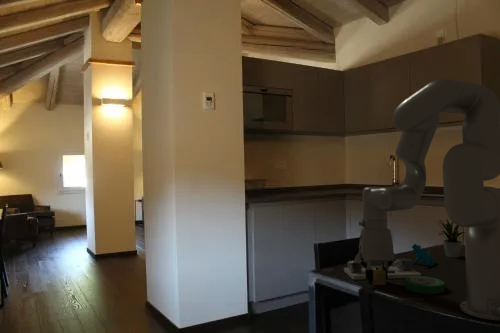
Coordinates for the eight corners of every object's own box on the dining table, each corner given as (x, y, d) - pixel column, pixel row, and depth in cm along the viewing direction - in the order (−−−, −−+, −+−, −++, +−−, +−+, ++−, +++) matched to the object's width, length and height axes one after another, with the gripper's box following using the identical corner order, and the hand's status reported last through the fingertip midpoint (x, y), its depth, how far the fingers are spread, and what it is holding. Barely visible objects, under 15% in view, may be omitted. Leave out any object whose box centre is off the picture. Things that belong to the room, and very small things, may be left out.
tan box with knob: (386, 284, 128) (385, 269, 128) (373, 285, 128) (373, 270, 128) (379, 279, 134) (379, 265, 134) (367, 280, 134) (367, 265, 134)
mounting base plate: (421, 277, 135) (421, 271, 135) (353, 279, 135) (353, 273, 135) (406, 269, 147) (406, 263, 147) (343, 270, 147) (343, 265, 147)
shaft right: (397, 271, 139) (397, 261, 139) (389, 268, 143) (389, 259, 143) (414, 269, 141) (414, 260, 141) (406, 267, 145) (406, 257, 145)
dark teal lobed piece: (427, 264, 147) (409, 242, 153) (416, 274, 149) (399, 252, 155) (441, 263, 154) (423, 242, 160) (429, 273, 157) (413, 252, 163)
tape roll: (449, 288, 124) (448, 279, 124) (438, 297, 115) (438, 287, 115) (412, 282, 131) (411, 274, 131) (399, 290, 123) (399, 281, 123)
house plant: (423, 254, 171) (422, 216, 171) (444, 251, 178) (443, 214, 178) (454, 261, 159) (453, 219, 159) (476, 256, 165) (474, 216, 165)
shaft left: (366, 269, 143) (366, 259, 143) (370, 272, 139) (370, 262, 139) (346, 270, 143) (346, 260, 143) (350, 273, 138) (349, 263, 139)
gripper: (352, 227, 127) (354, 285, 127) (405, 225, 128) (406, 283, 127) (346, 224, 135) (347, 279, 134) (396, 222, 135) (397, 277, 135)
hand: (376, 280), depth 131 cm, fingers closed on tan box with knob, 4 cm apart
